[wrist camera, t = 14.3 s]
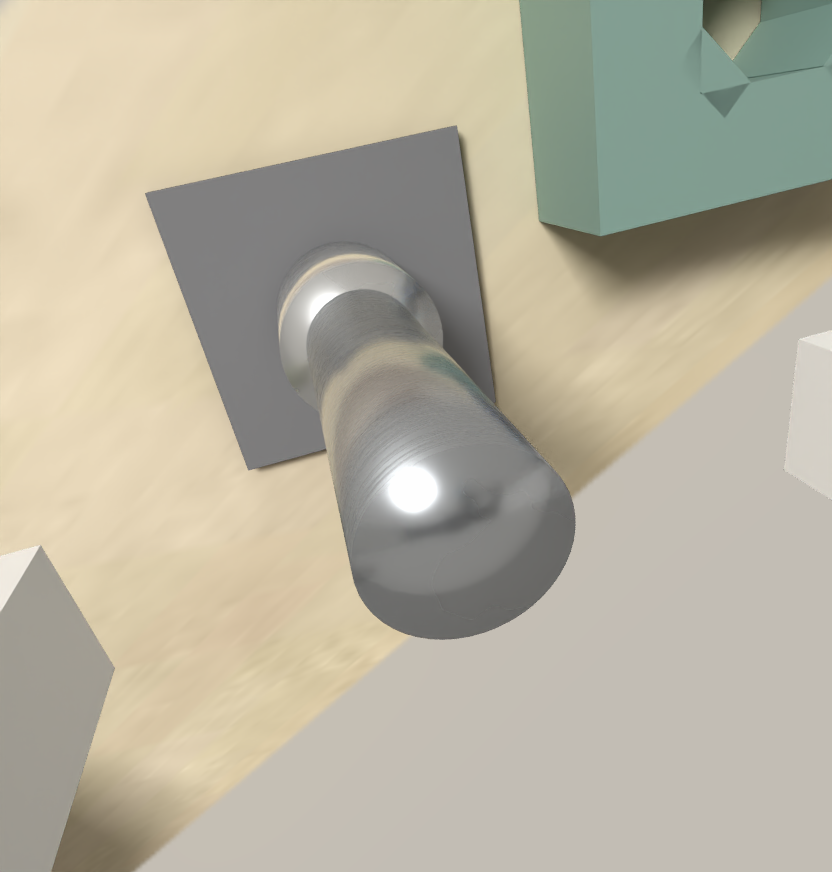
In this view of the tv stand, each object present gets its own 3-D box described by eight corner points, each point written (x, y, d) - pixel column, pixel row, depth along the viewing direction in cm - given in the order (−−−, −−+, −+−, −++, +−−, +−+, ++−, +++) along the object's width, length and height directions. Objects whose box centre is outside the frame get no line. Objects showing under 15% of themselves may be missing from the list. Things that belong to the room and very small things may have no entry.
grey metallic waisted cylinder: (396, 226, 22) (614, 349, 8) (422, 356, 25) (626, 620, 11) (258, 259, 22) (247, 451, 8) (299, 389, 24) (345, 714, 10)
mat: (452, 126, 22) (456, 125, 21) (491, 397, 27) (495, 402, 26) (147, 192, 21) (144, 193, 20) (248, 463, 26) (248, 470, 25)
